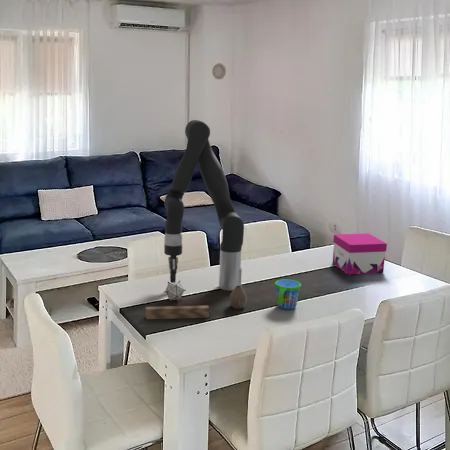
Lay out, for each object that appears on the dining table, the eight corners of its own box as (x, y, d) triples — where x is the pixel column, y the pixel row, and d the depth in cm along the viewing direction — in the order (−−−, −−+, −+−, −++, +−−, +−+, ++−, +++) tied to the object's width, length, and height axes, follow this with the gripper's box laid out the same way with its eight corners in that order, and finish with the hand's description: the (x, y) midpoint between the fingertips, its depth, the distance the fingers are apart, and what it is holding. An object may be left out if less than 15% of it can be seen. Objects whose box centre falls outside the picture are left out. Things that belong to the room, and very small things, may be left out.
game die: (177, 310, 253) (181, 297, 246) (158, 301, 254) (162, 287, 246) (186, 294, 259) (190, 280, 252) (168, 285, 260) (171, 272, 252)
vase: (228, 303, 252) (229, 283, 250) (245, 303, 252) (246, 283, 250) (230, 310, 245) (230, 289, 243) (247, 310, 246) (248, 289, 243)
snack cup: (284, 298, 260) (285, 275, 257) (306, 304, 254) (308, 280, 252) (265, 309, 247) (267, 285, 244) (289, 315, 241) (290, 291, 239)
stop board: (207, 315, 239) (208, 305, 238) (208, 317, 237) (208, 307, 236) (145, 316, 236) (145, 306, 235) (145, 319, 234) (145, 309, 233)
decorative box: (331, 263, 310) (333, 234, 306) (366, 261, 314) (368, 233, 311) (347, 275, 292) (350, 245, 289) (383, 273, 297) (386, 243, 293)
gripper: (183, 247, 253) (182, 287, 257) (181, 238, 266) (180, 276, 270) (165, 247, 252) (164, 287, 256) (163, 238, 265) (163, 277, 269)
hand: (172, 281), depth 263 cm, fingers closed
